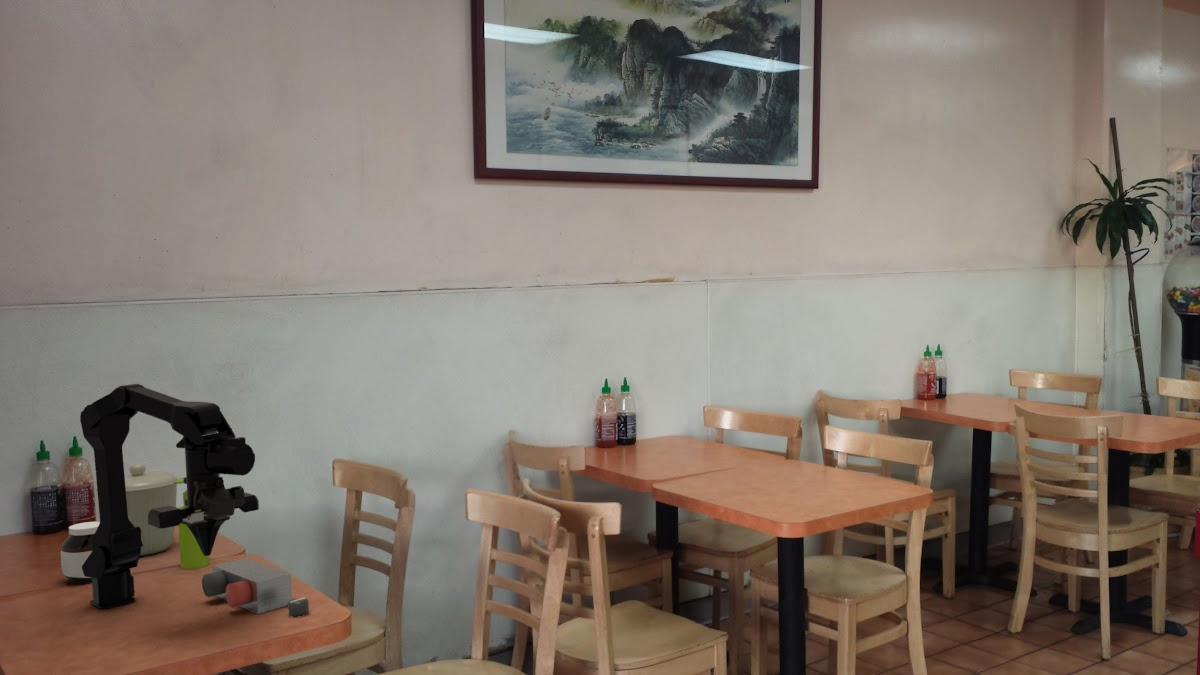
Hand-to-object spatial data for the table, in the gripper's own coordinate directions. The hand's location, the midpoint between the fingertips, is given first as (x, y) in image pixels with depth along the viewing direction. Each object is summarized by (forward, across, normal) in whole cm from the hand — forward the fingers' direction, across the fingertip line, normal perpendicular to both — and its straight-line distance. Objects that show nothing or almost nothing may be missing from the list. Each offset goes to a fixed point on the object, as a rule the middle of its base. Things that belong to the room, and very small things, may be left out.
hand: (207, 555), depth 185 cm
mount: (+12, +10, +4) cm, 16 cm away
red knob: (+10, +10, -1) cm, 14 cm away
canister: (+12, +12, +61) cm, 63 cm away
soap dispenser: (+12, +14, +38) cm, 42 cm away
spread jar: (+12, -4, +49) cm, 50 cm away
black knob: (+10, +10, +9) cm, 17 cm away
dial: (+12, +12, -11) cm, 20 cm away
